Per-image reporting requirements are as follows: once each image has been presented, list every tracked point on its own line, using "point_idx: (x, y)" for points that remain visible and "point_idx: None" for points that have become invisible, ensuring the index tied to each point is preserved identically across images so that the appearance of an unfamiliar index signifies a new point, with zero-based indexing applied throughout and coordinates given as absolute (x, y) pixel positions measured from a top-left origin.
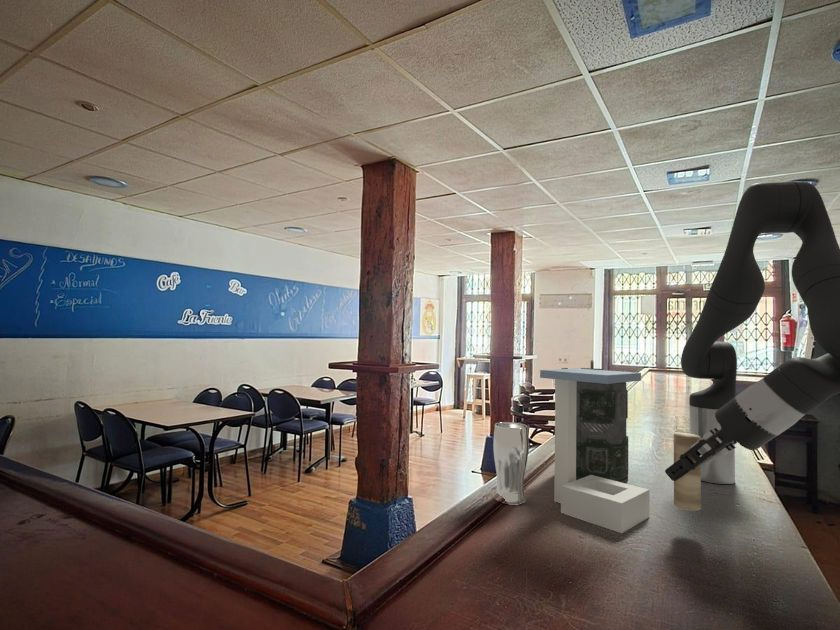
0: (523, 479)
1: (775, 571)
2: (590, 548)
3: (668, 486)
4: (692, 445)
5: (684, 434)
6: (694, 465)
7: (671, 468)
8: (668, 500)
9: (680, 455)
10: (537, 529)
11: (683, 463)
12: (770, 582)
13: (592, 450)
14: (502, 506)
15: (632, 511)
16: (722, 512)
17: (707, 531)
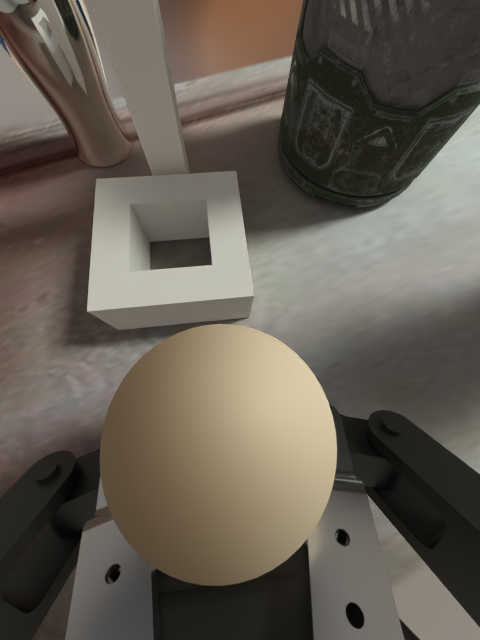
0: (89, 119)
1: None
2: (5, 334)
3: (463, 251)
4: (82, 547)
5: (248, 399)
6: (27, 558)
7: None
8: (379, 292)
9: (37, 468)
10: (16, 241)
11: None
12: None
13: (316, 96)
14: (68, 157)
15: (159, 315)
16: (424, 390)
17: None
